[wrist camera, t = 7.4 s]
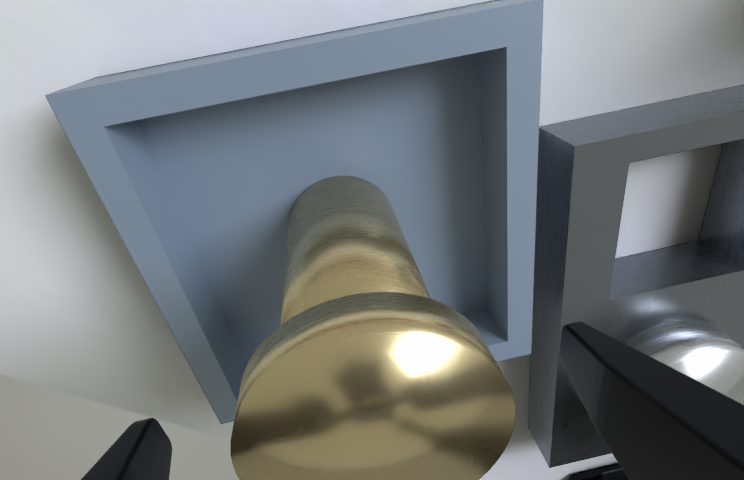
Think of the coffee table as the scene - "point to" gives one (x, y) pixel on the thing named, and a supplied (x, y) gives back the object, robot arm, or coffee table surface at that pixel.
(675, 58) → the coffee table surface
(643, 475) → the robot arm
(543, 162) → the block
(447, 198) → the tray
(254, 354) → the pin
